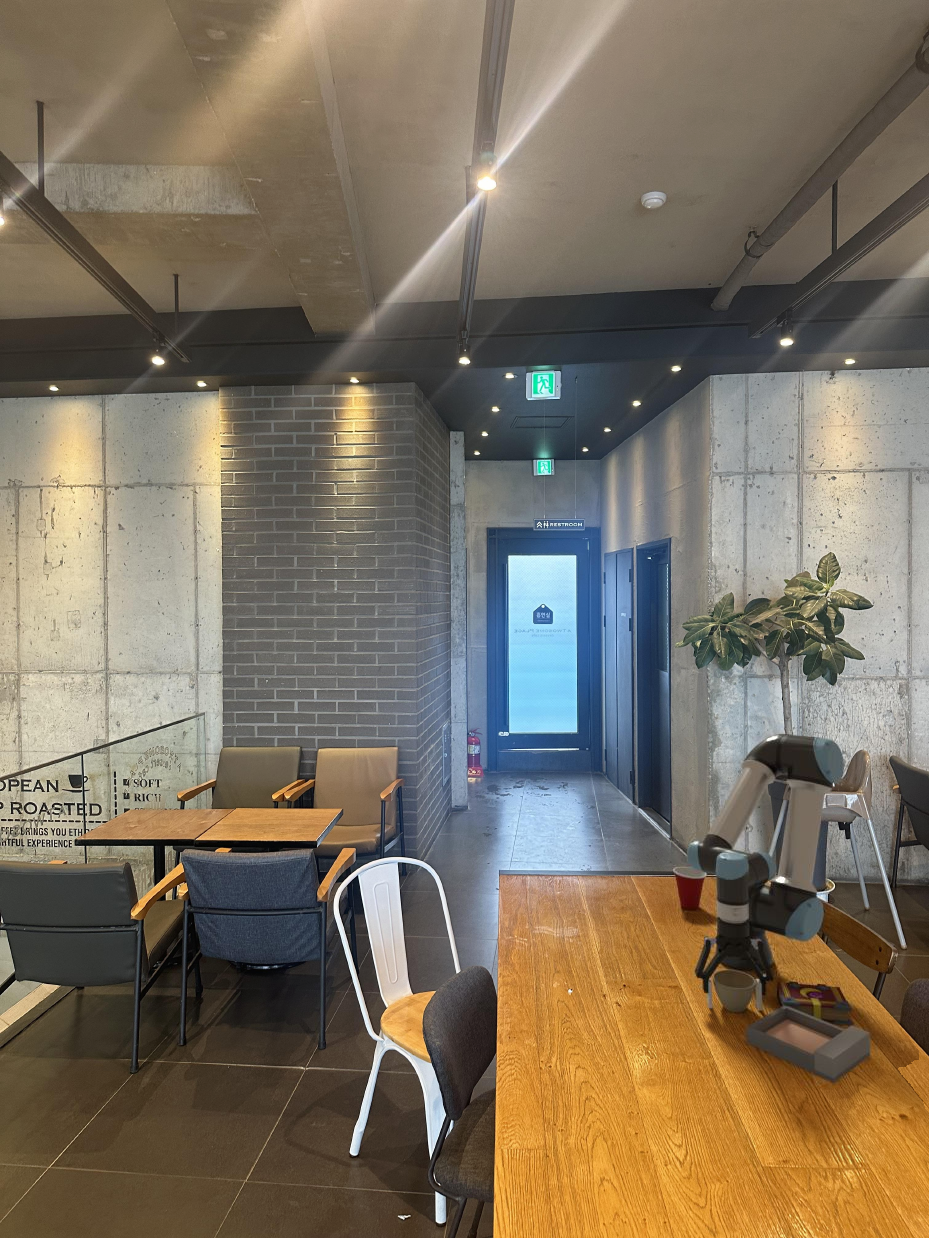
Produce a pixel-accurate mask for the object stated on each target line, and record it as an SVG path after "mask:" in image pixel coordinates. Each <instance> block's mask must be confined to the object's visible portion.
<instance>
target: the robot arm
mask: <svg viewBox="0 0 929 1238" xmlns="http://www.w3.org/2000/svg"><path fill="white" fill-rule="evenodd" d="M844 761H845V760H844V756H843V753H842V750H841V748H840V746H839V745H838V744H837V742H835V741H834V740H832V739H829V738H824V737H823V738H822V737H818V736H807V735H796V734H795V735H794V734H788V733H777V734H774V735H772V736H768V737H767V738H765V739H763V740H762V741H760V742H759V743H758V744H757V745H755V746H754V747H753V748H752V749H751V750H750V751H749V752H748V754H747V755H746V756H745V758H744V760H743V762H742V764H741V769H742V771H741V772H740V774H739V777H738V779H737V780H736V781H735V784H734V786H733V787H732V789H731V791H730V793H729V794H728V796H727V798H726V800H725V802H724V803H723V806H722V807H721V809H720V811H719V813H718V814H717V816H716V818H715V820H714V822H713V823H712V825H711V826H710V828H709V830H708V832H707V833H706V835H705V837H704V839H703V841H701V840H694V841H693V842H691V843H690V844H689V846H688V848H687V851H686V861H687V863H688V865H689V867H691V868H694V869H697V870H699V871H702V872H704V873H706V874H707V873H708V874H711V875H714V876H715V878H716V879H715V880H716V915H717V918H716V930H717V931H716V936H715V937H709V936H708V935H705V936H704V937H703V947H702V949H701V953H700V955H699V958H698V961H697V963H696V967H695V969H694V974H695V976H696V978H697V979H700V980H702V990H703V993H704V994H706V1001H707V1002H706V1003H707V1006H708V1008H709V1009H713V980H712V979H711V977H713V974H714V973H715V972H716V970H717V968H718V967H719V966H720V964H723V965H725V966H727V967H730V968H733V969H737V970H741V971H752V972H754V974H755V975H756V976H757V978H755V982H756V983H755V1005H756V1007H757V1010H758V1011H762V1012H763V996H766V994H767V986H766V985H767V983H768V982H773V981H774V980H775V978H774V975H773V973H772V970H771V966H773V963H774V962H773V961H774V957H773V955H774V954H773V952H772V949H771V946H770V943H769V941H768V937H767V933H766V932H770V933H771V934H776V935H778V936H782V937H785V938H787V939H788V940H795V941H800V942H809V941H811V940H812V939H813V938H814V937H815V936H816V935H817V934H818V933H819V931H820V929H821V927H822V923H823V919H824V914H825V911H824V905H823V902H822V901H821V900H820V899H819V898H817V896H818V890H817V889H816V888H815V886H814V884H813V878H814V872H815V866H816V865H815V864H816V859H817V851H818V845H819V837H820V831H821V822H822V816H823V809H824V804H825V796H826V795H827V794H828V793H829V792H831V791H833V784H837V783H839V782H840V781H841V780H842V778H843V777H844V776H843V775H844V772H845V762H844ZM782 775H783V776H786V783H787V784H788V785H789V787H790V795H789V800H788V808H787V814H786V819H785V820H786V821H785V826H784V833H783V840H782V847H781V853H780V859H779V865H778V866H779V867H778V870H777V865H776V861H775V859H774V858H773V856H771V855H770V854H768V853H767V852H765V851H754V852H752V853H748V852H745V851H740V850H736V849H734V848H735V846H736V844H737V843H738V841H739V839H740V837H741V834H742V833H743V831H744V829H745V828H746V826H747V823H748V822H749V820H750V819H751V816H752V815H753V812H754V811H755V809H756V807H757V805H758V803H759V801H760V800H761V798H762V796H763V794H764V792H765V791H766V788H767V786H768V785H769V784H773V783H774V782H775V780H776V778H777V777H778V776H782ZM776 874H777V875H776ZM768 882H770V885H766V884H767V883H768ZM714 945H716V946H715V954H714V955H713V957H712V959H711V960H710V961H709V963H708V964H707V962H708V959H709V957H710V953H711V950H712V948H714ZM763 970H764V973H762V971H763Z"/></svg>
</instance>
